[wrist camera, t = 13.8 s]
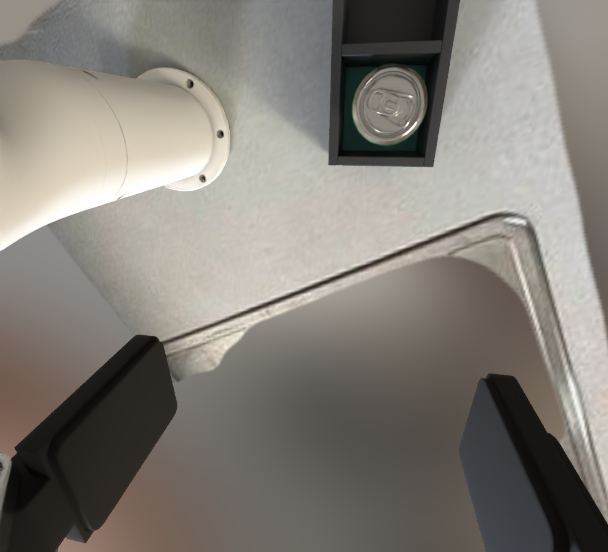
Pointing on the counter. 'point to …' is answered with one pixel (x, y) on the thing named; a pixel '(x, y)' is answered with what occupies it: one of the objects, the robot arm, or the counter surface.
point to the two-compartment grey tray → (381, 50)
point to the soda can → (389, 104)
